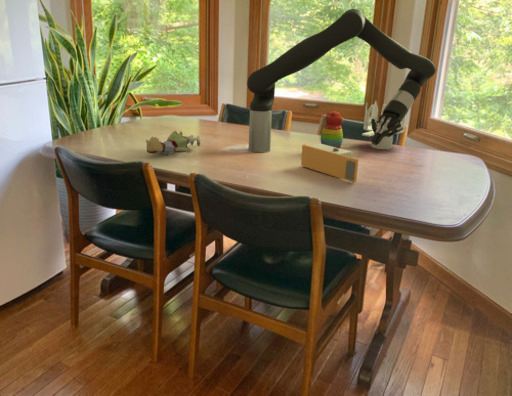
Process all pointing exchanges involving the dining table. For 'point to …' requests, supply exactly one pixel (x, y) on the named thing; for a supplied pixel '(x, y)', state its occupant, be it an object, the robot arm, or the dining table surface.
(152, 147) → the figurine
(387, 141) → the decorative object
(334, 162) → the side door
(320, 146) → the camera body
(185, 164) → the dining table surface
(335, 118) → the stacking bear
